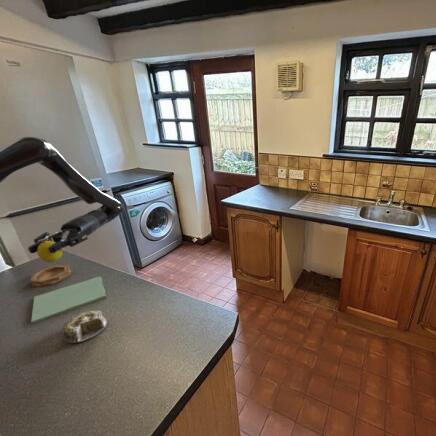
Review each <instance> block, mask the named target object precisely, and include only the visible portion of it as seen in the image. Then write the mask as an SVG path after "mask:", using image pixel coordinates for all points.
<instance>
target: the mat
mask: <svg viewBox="0 0 436 436" xmlns="http://www.w3.org/2000/svg"><path fill="white" fill-rule="evenodd" d="M105 298H107V296H106V291H105V287H104V283H103V278H102V276H100V275H99V276H97V277H93V278H90V279H86V280H84V281H81V282H80V281H79V282H77V283H74V284H71V285H68V286H65V287H61V288H59V289H55V290H52V291H48V292H45V293H41V294H38V295H35V296H34V297H33V304H32V312H31V319H30V322H31V324H35V323H38V322H41V321H44V320H46V319H49V318H52V317H55V316H57V315H60V314H62V313H63V314H64V313H66V312H68V311H69V312H70V311H71V310H74V309H77V308H79V307H82V306H85V305H88V304H91V303H93V302H97V301H100V300H102V299H105Z"/></svg>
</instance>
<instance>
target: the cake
mask: <svg viewBox="0 0 436 436" xmlns="http://www.w3.org/2000/svg"><path fill="white" fill-rule="evenodd" d="M107 325H108V319H107V318H106V317H104V316H103V313H102V311H100V310H90V311H85V312H82V313H81V314H77V315H75V316H73V317H72V318H71V319H70V320H69V321H67V322H66V323H64V325H63V326H62V331H63V341H64V342H65V343H67V344H77V343H81V342H84V341H87V340H90V339H91V338H93V337H95V336H97V335H98V334H99V333H102V331H103V330H104V329H105V328H106V327H107Z"/></svg>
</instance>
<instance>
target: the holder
mask: <svg viewBox="0 0 436 436" xmlns="http://www.w3.org/2000/svg"><path fill="white" fill-rule="evenodd" d="M71 274H72V271H71V269H70V267H69V265H65V264H56V265H53V266H49V267H45V268H42V269H40V270H39V271H37V272H35V273H34V274H31V276H30V283H31V285H32V286H33V287H47V286H51V285H54V284H57V283H59V282H62V281H63V280H65V279H66V278H68V277H69V276H70V275H71Z"/></svg>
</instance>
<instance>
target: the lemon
mask: <svg viewBox="0 0 436 436" xmlns="http://www.w3.org/2000/svg"><path fill="white" fill-rule="evenodd" d="M55 243H56V242H54V241H53V240H52V241H44V242H43V243H41V244H40V245H39V246H38V249H37V252H36V253H37V256H38V258H39V259H40V260H41V261H43V262H45V263H56V262H58V260H60V259H61V258H62V256H63V248H62V249H60V250H58V251H57V252H55V253H50V251H49V247H50V246H52V245H53V244H55Z"/></svg>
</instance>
